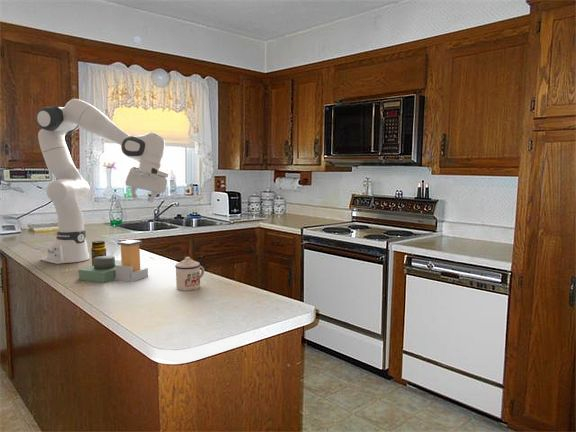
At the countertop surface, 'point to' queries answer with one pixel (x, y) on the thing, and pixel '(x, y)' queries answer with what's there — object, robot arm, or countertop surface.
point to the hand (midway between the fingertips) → (141, 199)
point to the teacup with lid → (188, 274)
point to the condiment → (98, 249)
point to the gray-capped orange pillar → (130, 253)
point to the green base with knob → (110, 271)
